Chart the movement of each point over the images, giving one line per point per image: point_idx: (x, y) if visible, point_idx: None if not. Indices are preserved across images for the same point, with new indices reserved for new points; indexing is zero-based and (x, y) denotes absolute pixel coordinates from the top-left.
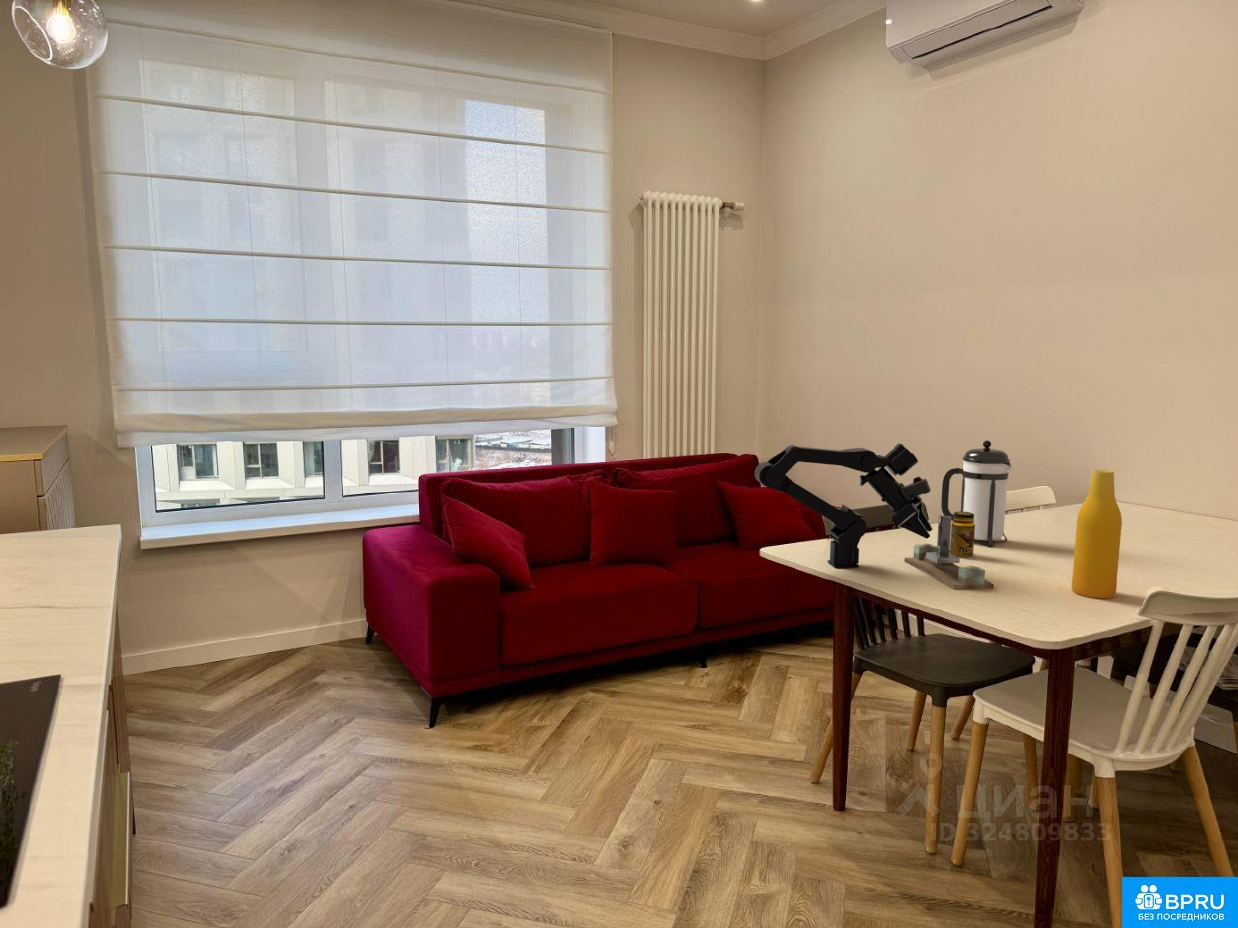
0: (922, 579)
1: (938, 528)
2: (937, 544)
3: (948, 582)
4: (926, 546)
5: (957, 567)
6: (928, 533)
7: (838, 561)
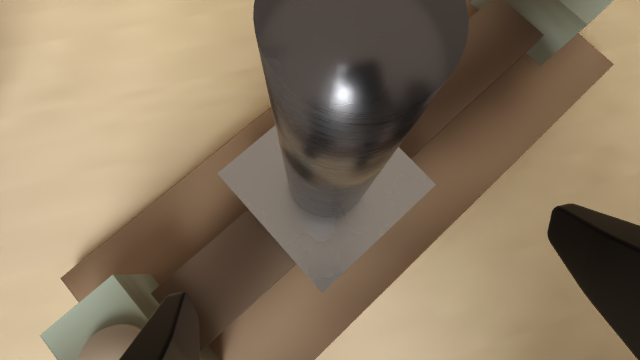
0: (539, 234)
1: (382, 161)
2: (354, 199)
3: (578, 98)
4: None
5: None
6: (601, 214)
7: None
